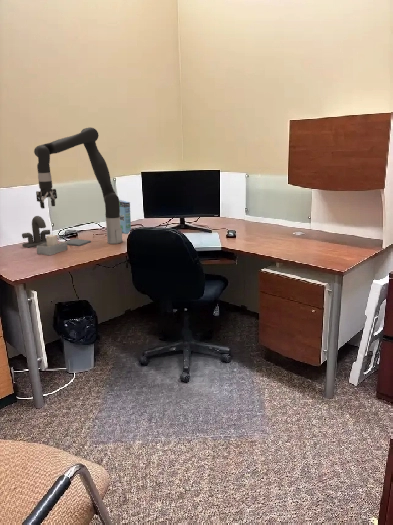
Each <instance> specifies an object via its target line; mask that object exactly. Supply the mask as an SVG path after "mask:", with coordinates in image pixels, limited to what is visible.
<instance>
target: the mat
mask: <svg viewBox="0 0 393 525" xmlns="http://www.w3.org/2000/svg"><path fill="white" fill-rule="evenodd" d="M65 242H67V246H73V247H74V246H75V247H81V246H84V245H87V244H90V243H92V240H88V239H82V238H81V239H80V238H72V239H70V240H67V241H65Z"/></svg>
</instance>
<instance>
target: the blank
mask: <svg viewBox="0 0 393 525" xmlns="http://www.w3.org/2000/svg"><path fill="white" fill-rule="evenodd" d="M45 236H46V239H47V247H50V246H53V245H56V244H59V241H58V235H55V234H50V235H45Z"/></svg>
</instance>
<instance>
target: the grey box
mask: <svg viewBox="0 0 393 525" xmlns="http://www.w3.org/2000/svg"><path fill="white" fill-rule="evenodd" d="M35 248H36V254H37V255H43V254H44V256H53V255H55V254H58V253H61V252H64V251H67V250H68V245H67V242H66V241H63V242H61V243H60V242H58V244H56V245H53V246H50V247H47V243H43V244H40V245H37V246H36V247H35Z"/></svg>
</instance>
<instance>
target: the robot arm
mask: <svg viewBox="0 0 393 525" xmlns="http://www.w3.org/2000/svg"><path fill="white" fill-rule="evenodd" d="M98 139H99V132H98V130H97V129H96V128H95V127H89V126H88V127H86V128H83V129H82V130H81V131H80V132H78V133H76V134H73V135H71V136H67V137H62V138H58V139H55V140H53V141H50V142H48V143H44V144H40V145H37V146H36V147H34V150H33V153H34V155H35V156H36V157H37V158H38V159H37V160H38V162H37V165H36V167H37V169H36V170H37V179H38V187H39V189H40V190H38V191H37V190H36V192H35V193H36V194H35V195H36V202H38V203H39V206H40V208H41V209H45V208H46V207H45V200H46V199H47V198H49V199H50V202H51V203H50V205H51V207H56V199H58V194H57V188H53V180H52V179H53V178H52V173H51V166H50V163H51V155H53V154H59V153H61V152H64V151H68V150H70V149H72V148H74V147H77V146H81V145H83V146H84V148H85V150H86V153H87V155H88V159H89V162H90V164H91V168H92V171H93V173H94V175H95V176H94V177H95V178H96V181H97V182H98V184H99V188H101V193H102V196H103V202H104V206H105V210H104V211H105V214H104V215H105V226H106V239H107V244H111V245H117V244H120V243H123V242H124V241H123V240H124V239H123V232H122V228H120V204H119V200H120V198H119V196H118V195H117V194H116V192H115V189H114V187H113V185H112V181H111V180H112V179H111V175H110V171H109V168H108V164H107V162H106V160H105V158H104V157H103V155H102V154H101V152H100V151H99V149H98V146H97V143H96V141H98Z"/></svg>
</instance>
